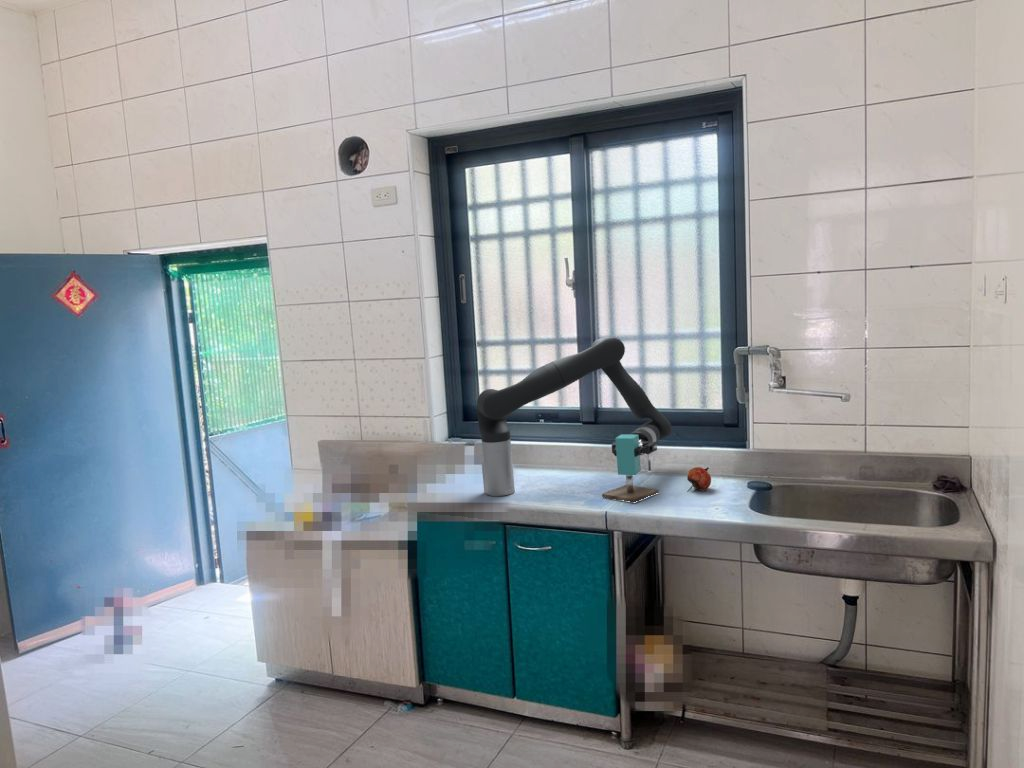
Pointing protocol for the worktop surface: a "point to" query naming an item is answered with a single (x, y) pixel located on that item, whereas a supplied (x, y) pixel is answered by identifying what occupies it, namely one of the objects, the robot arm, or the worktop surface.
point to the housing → (627, 454)
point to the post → (629, 483)
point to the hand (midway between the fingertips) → (625, 453)
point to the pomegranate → (699, 478)
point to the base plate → (632, 497)
